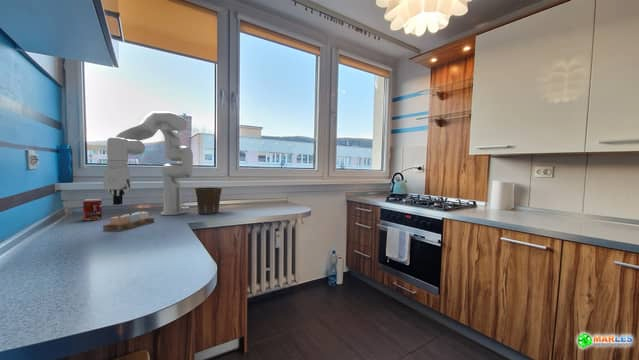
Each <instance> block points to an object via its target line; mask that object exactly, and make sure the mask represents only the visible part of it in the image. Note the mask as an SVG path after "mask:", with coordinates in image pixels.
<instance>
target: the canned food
mask: <svg viewBox="0 0 639 360" xmlns="http://www.w3.org/2000/svg"><path fill="white" fill-rule="evenodd" d="M82 201H83V202H82V207H83V220H84V219H98V218H101V219H102V218H103V202H102V198H87V199H85V198H84V199H83V200H82Z"/></svg>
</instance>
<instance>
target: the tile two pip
mask: <svg viewBox="0 0 639 360" xmlns="http://www.w3.org/2000/svg"><path fill="white" fill-rule="evenodd" d="M121 216H128V222H135V221H139V214H133V213H127V214H122V215H121Z"/></svg>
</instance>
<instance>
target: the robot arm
mask: <svg viewBox="0 0 639 360" xmlns="http://www.w3.org/2000/svg"><path fill="white" fill-rule="evenodd" d="M187 128H188V122H187V120H186V118H185V117H184V116H182V115H179V114H176V113H174V112H170V111H151V112H149V113H148V114H147V115H146V116H145V117H144V118H143V119H142V120H141V121H140V122H139V123H138V124H137V125H135V126H132V127H130V128H128V129H125V130H123V131H121V132H119V133H118V134H116V136H114V137H113V136H112V137H108V138H107V140H106V141H107V143H106V147H107V148H106V153H107V155H106V157H107V159H106V165H107V167H105V169H104V175H103V185H102V186H103V187H102V188H103V189H105V191H106V192H108V193H110V194H111V196H112V198H113V199H112V202H113V204H112V205H113V206H115V205H116V206H117V205H118V206H120V205H123V197H124V196H125V193H129V192H130V190H131V189H130V188H131V187H132V186H131V185H132V181H131V179H132V178H131V172H130V169H129V168H130V167H129V156H138V155H139V156H140V155H143V153H144V152H145V150H146V146H145V144H144V142H143V141H144V140H147V139H150V138H153V137H154V135H156V133H157V132H158V131H159V130H160V132H161V133H162V135H163V137H164V158H165V160H167V161H169V162H170V163H169V162H168V163H165V164H163V165H162V166H161V169H160V170H161V177H162V184H163V186H162V187H163V197H162V198H163V211H161V212H160V215H163V216H174V215H176V216H177V215H181V214H184V213H185V211H189V210H190V206H183V205H182V186H181V183H180V181H179V180H180V179H181V180H182V179H183V180H184V179H187V180H188V179H190V178H191V177H192V176H193V171H194V170H193V167H194V166H193V165H194V152H193V150H192V148H191V147H189V146H188V145H187V146H186V145H181V137H180V136H179V134H178V133H177V132H179V131H180V132H183V131H185V130H186V129H187ZM173 162H174V163H173ZM177 162H181V163H177Z"/></svg>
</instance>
